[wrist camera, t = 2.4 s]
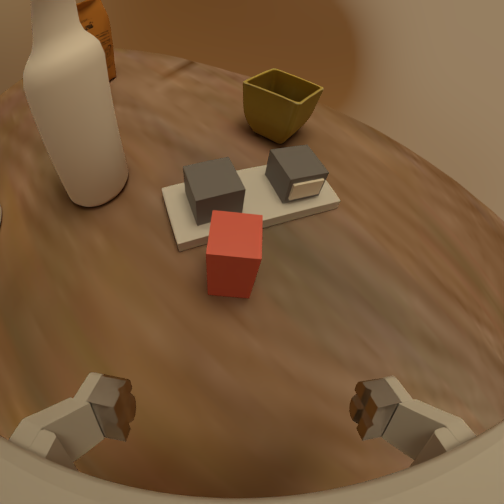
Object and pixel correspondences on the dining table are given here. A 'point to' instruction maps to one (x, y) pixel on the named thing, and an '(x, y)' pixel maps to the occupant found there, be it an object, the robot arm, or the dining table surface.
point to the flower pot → (278, 103)
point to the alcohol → (74, 104)
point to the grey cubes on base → (248, 192)
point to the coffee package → (98, 29)
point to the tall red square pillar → (233, 253)
